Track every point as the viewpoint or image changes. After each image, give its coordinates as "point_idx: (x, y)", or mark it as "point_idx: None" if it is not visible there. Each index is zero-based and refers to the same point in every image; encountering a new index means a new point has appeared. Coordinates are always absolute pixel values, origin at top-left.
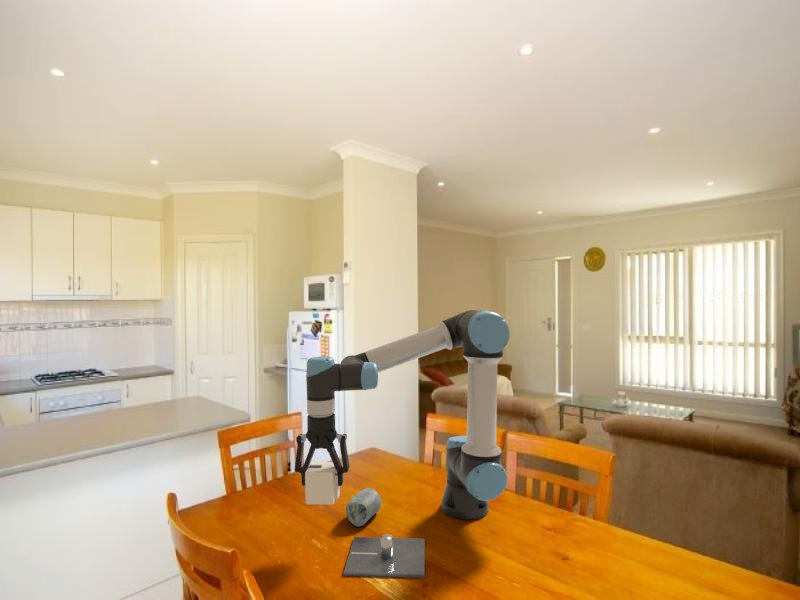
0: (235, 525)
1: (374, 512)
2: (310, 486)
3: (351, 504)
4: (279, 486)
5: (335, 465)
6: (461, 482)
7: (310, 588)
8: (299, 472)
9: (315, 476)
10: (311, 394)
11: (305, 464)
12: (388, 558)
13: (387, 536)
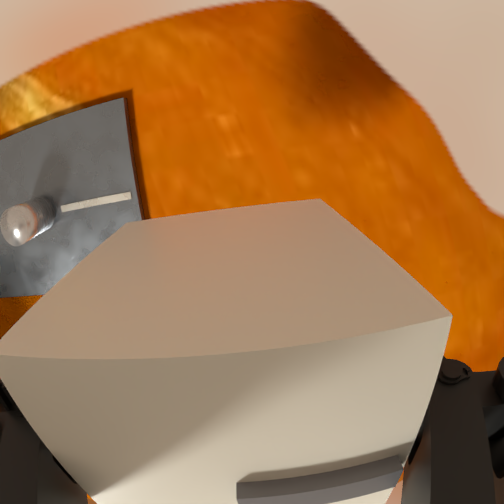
0: (501, 286)
1: None
2: (310, 241)
3: None
4: None
5: (23, 476)
6: None
7: (205, 25)
8: (478, 373)
9: (253, 306)
10: None
11: (471, 459)
12: (32, 195)
13: (13, 233)
